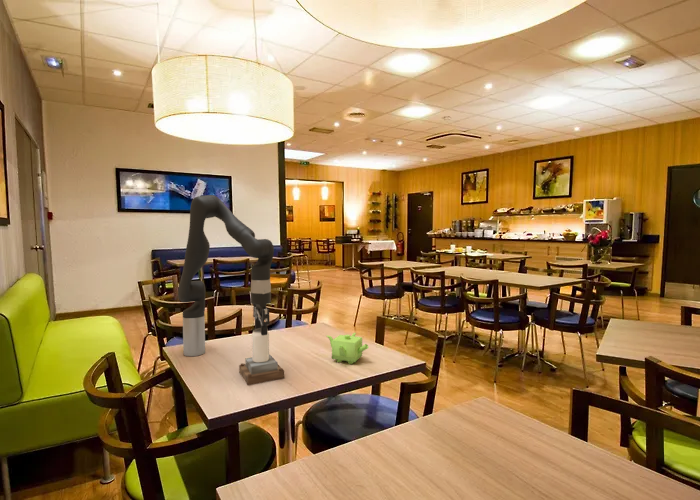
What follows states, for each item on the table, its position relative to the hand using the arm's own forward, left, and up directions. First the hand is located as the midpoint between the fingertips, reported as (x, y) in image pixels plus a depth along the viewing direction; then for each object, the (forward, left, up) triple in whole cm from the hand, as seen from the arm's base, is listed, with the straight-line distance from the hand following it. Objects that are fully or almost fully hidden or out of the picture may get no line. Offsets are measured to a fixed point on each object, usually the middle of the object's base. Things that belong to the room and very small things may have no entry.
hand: (261, 332), depth 149 cm
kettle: (0, +38, -17) cm, 42 cm away
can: (0, 0, -11) cm, 11 cm away
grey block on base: (0, 0, -17) cm, 17 cm away
